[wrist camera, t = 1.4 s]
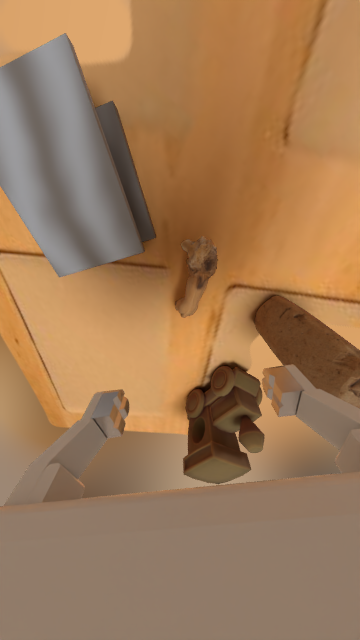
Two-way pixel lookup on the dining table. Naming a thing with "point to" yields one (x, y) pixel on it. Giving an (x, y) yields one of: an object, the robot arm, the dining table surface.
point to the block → (311, 348)
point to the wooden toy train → (223, 426)
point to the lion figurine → (197, 273)
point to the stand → (68, 163)
